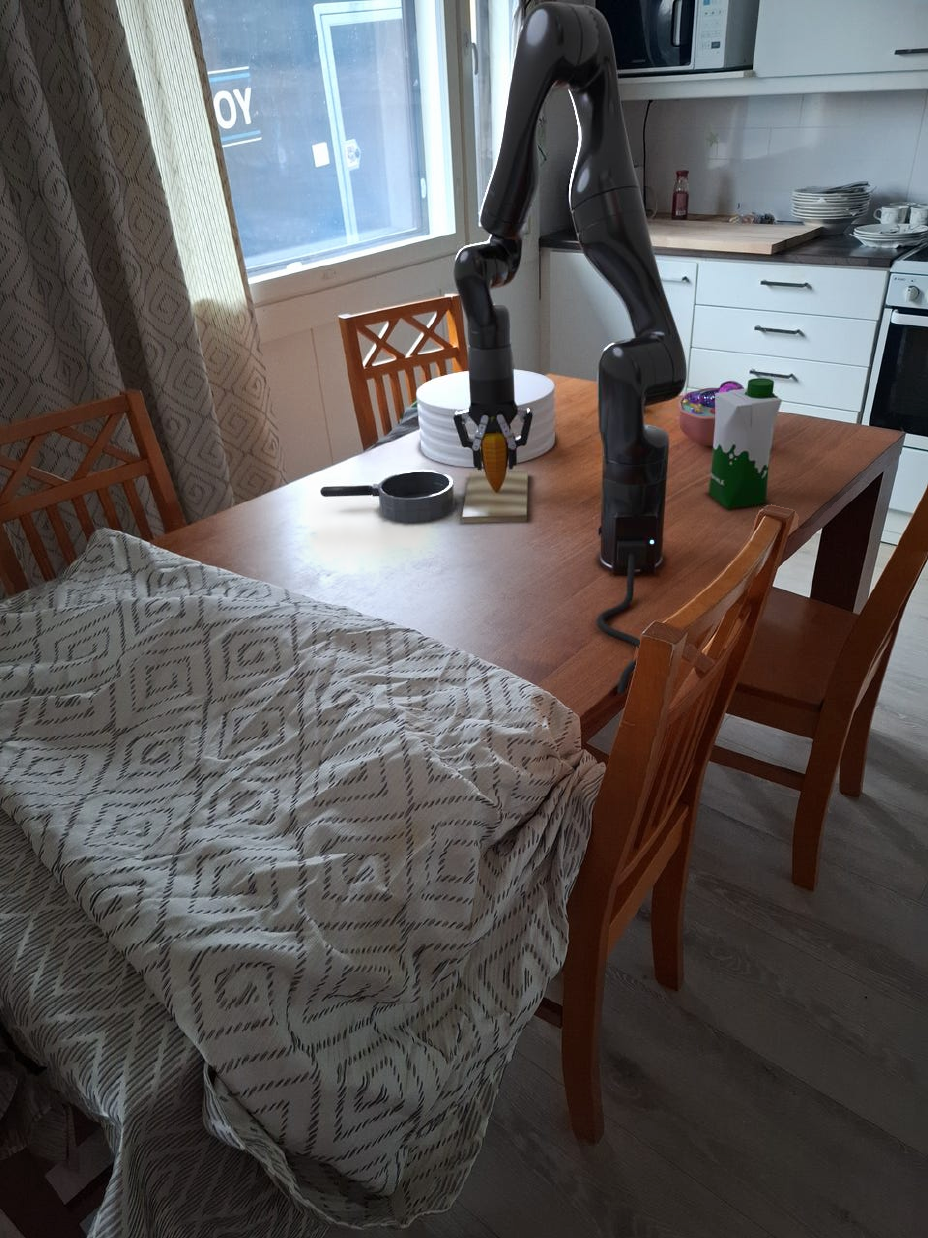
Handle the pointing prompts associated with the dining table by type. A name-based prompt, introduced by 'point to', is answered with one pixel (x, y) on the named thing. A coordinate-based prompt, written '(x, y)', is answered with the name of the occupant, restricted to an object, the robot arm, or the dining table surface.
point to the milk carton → (743, 443)
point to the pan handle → (350, 490)
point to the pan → (416, 496)
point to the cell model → (701, 412)
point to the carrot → (494, 458)
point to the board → (496, 499)
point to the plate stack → (454, 395)
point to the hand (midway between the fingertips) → (495, 467)
